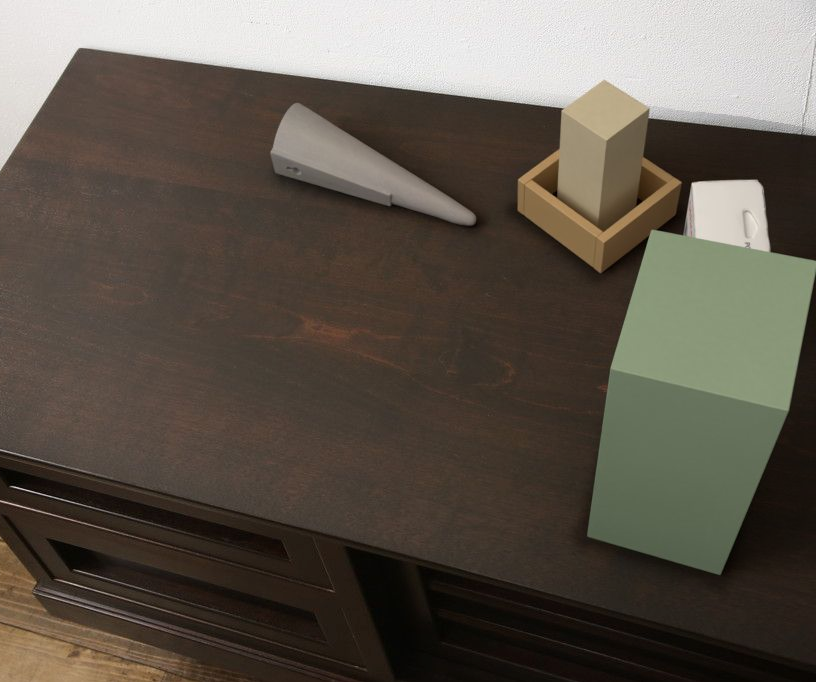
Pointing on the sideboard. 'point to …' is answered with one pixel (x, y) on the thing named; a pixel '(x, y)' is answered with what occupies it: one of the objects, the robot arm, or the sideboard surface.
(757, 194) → the ink box
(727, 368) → the stand
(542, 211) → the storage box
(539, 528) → the sideboard surface
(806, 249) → the sideboard surface
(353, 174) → the grey tapered cone
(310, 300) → the sideboard surface
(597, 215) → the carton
